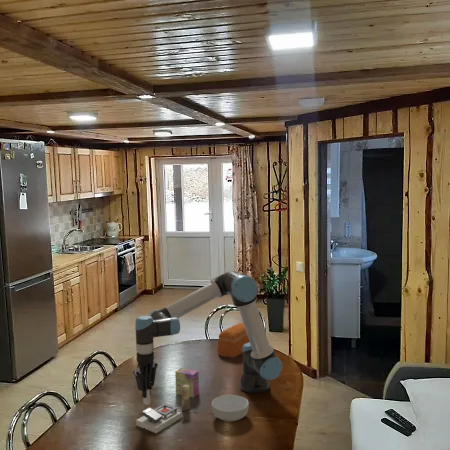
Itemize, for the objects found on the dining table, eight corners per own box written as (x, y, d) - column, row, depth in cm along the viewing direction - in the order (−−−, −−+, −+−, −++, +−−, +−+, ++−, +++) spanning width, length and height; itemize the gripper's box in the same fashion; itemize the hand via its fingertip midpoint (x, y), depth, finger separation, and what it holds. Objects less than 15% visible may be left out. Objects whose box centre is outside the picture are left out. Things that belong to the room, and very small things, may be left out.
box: (199, 393, 243) (198, 370, 242) (193, 397, 238) (193, 374, 237) (181, 389, 248) (180, 367, 247) (175, 394, 243) (174, 371, 242)
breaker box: (181, 417, 218) (180, 408, 218) (156, 433, 205) (155, 423, 205) (161, 411, 225) (161, 402, 225) (136, 425, 212) (136, 416, 212)
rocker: (162, 418, 211) (162, 415, 211) (155, 423, 208) (155, 419, 207) (149, 410, 216) (149, 407, 215) (142, 414, 212) (142, 411, 212)
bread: (215, 354, 297) (215, 329, 295) (239, 342, 318) (238, 319, 317) (234, 359, 289) (233, 333, 288) (257, 346, 310) (256, 322, 309)
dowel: (191, 408, 227) (190, 385, 226) (186, 411, 224) (185, 388, 223) (185, 406, 229) (184, 384, 228) (180, 409, 227) (179, 386, 226)
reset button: (171, 413, 219) (171, 410, 219) (165, 416, 215) (165, 413, 215) (164, 411, 221) (164, 407, 221) (158, 414, 218) (158, 411, 218)
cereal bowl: (236, 430, 206) (236, 414, 206) (204, 421, 215) (204, 405, 214) (255, 413, 220) (255, 399, 220) (224, 405, 229) (224, 391, 229)
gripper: (149, 345, 218) (151, 396, 220) (128, 354, 208) (129, 407, 210) (161, 349, 214) (163, 400, 216) (140, 357, 203) (142, 411, 205)
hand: (146, 403), depth 213 cm, fingers closed
